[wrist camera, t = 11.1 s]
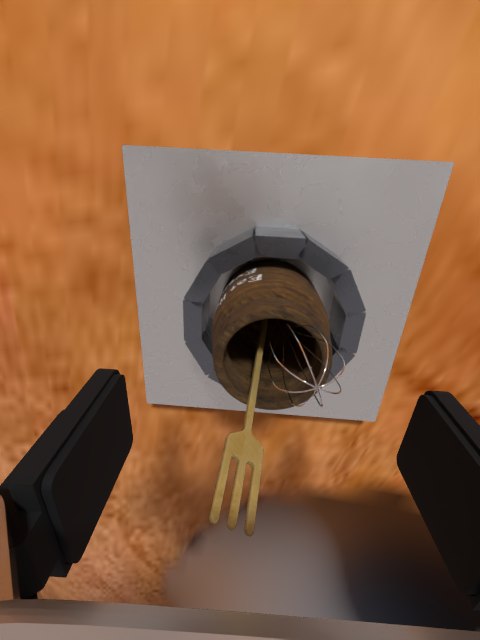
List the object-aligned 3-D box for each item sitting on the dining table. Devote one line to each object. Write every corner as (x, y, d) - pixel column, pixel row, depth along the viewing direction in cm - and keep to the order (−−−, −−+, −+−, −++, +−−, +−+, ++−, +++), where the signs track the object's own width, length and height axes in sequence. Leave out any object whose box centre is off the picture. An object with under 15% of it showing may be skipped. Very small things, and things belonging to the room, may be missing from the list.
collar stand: (132, 147, 17) (93, 138, 13) (438, 163, 17) (495, 158, 13) (153, 390, 25) (131, 432, 20) (368, 407, 24) (390, 454, 20)
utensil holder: (335, 281, 18) (444, 428, 8) (285, 361, 21) (312, 559, 10) (245, 238, 18) (222, 333, 7) (205, 327, 20) (141, 499, 9)
